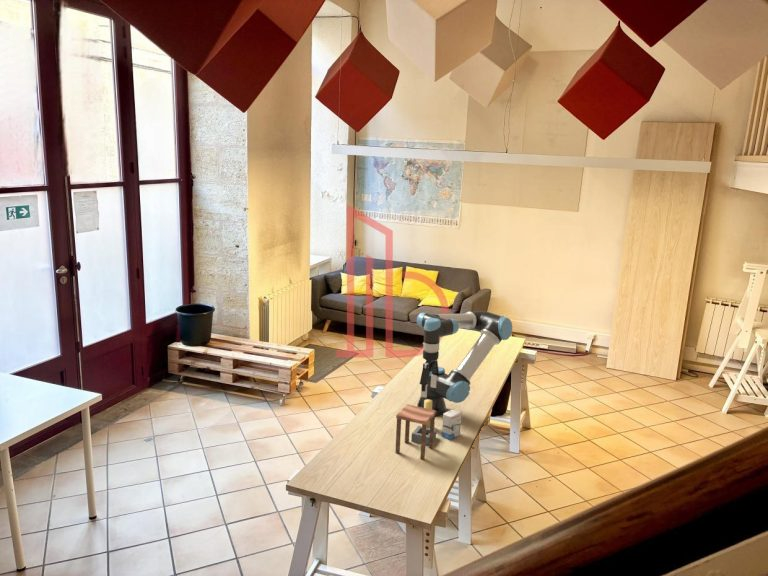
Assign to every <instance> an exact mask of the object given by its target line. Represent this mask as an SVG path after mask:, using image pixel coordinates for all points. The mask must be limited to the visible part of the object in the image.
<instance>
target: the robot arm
mask: <svg viewBox="0 0 768 576" xmlns="http://www.w3.org/2000/svg"><path fill="white" fill-rule="evenodd" d="M416 324H417V326H419V327H420V328H422V329H423V342H422V345H423V348H422V349H423V351H422V358H423V359H424V360H425V362H424V363H423V364H422V370H421V376H420V379H419V380H420V381H419V385H421V387H420V388H421V389H420V397H419V399H418V402H417V405H416V406H418V407H422V408H424V400H426V399H429V400H432V410H436V414H435V417H436V416H443V414H444V413H446V412H447V405H446V402H445V400H448V401H449V402H451V403H454V404H459V403H462V402H464V401H465V400H466V399H467V398H468V397H469V395H470V391H471V386H470V385H471V379H472V377H473V376H474V374H475V373H476V372H477V371H478V370H479V368H480V366H481V364H482V363H483V362H484V361H485V360H486V357H487V356H488V355H489V353H490V352H491V351H492V349H493V348H494V346H495V345H499V344H500V343H501V341H502V340H503V341H506V340H509V338H511V335H512V333H513V322H512V321H511V319H510V318H509V317H506V316H504V315H499V314H495V313H493V312H489V311H485V310H484V311H483V310H482V311H478V310H477V311H476V310H475V311H467V312H465V313H428V312H419V314H418V315H417V317H416ZM459 329H466V330H468V331H470V330H472V331H476V332H478V333H480V336H479V338H477V340H476V341H475V343H474V344H473V346H472V347H471V348H470V350H469V351H468V353H467V354H466V355H465V356H464V358H463V359H462V360H461V362H460V363H459V364H458V366H457V368H456V369H451V371H450V372H449V373H448V374H447V373H445V372H446V369H445V368H444V367H442V366H439V363H438V359H439V356H440V354H439V353H440V352H439V351H440V342H441V341H440V340H441V339H440V338H442V337H446V336H453V335H455V334H457V332H458V331H459Z"/></svg>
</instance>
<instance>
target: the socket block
mask: <svg viewBox="0 0 768 576" xmlns="http://www.w3.org/2000/svg"><path fill="white" fill-rule="evenodd" d="M421 438H422V425H418V426H417V427H416V428H415V429H414V431H413V432H411V442H413V443H417V444H421ZM429 438H430V428H426V445H425V446H429ZM436 438H437V429H435V428H434V440H435V439H436Z"/></svg>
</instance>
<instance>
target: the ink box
mask: <svg viewBox="0 0 768 576" xmlns="http://www.w3.org/2000/svg"><path fill="white" fill-rule="evenodd" d="M441 426H442V429H441V430H442V432H441V438H442V437H443V438H444V439H447V440H452V439H454V438H457V437H458V436H461V426H462V411H458V410H456V409H451V410H448V411H446V412H445V413H444V414H442V425H441Z"/></svg>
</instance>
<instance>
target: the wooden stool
mask: <svg viewBox="0 0 768 576" xmlns="http://www.w3.org/2000/svg"><path fill="white" fill-rule="evenodd" d="M435 414H436V410H431V409H427V408H422V407H418V406H417V405H412V404H407V403H406V405H405V406H404V407H403V408H401V410H400V411H399V412H398V413H397V414H395V415H396V416H395V417H396V418H395V419H396V432H395V452H394V453H396V454H399V453H400V452H401V434H402V433H401V431H402V420H404V421H405V427H404V428H405V429H404V430H405V431H404V443H407V444H408V443H409V442H410V429H411V428H410V425H411V423H416V424H421V426H422V438H421V443H420V459H421V460H423V461H424V460H425V458H426V446H427V445H426V426H427V423H428V422H429V421H430V438H429V445H428V448H429V449H430V450H432V449H434V440H435V439H434V429H435V420H436V416H435Z"/></svg>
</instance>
